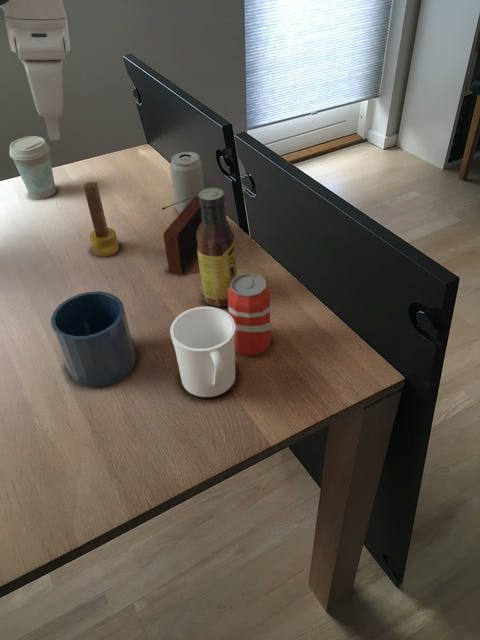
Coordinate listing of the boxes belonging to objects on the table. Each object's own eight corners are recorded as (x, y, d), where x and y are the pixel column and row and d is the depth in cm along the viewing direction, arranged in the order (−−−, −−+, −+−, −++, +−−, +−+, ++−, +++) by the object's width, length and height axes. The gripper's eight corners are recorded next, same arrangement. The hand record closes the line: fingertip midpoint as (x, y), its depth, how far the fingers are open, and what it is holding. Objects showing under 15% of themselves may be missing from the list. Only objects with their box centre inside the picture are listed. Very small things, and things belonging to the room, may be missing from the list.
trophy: (91, 257, 105) (73, 192, 95) (95, 242, 108) (79, 178, 99) (116, 256, 104) (101, 191, 95) (120, 241, 108) (106, 177, 99)
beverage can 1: (203, 200, 119) (199, 148, 111) (207, 215, 114) (202, 162, 106) (175, 203, 118) (168, 152, 110) (177, 219, 114) (170, 166, 106)
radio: (203, 226, 111) (196, 157, 101) (216, 228, 110) (211, 159, 100) (162, 278, 99) (150, 206, 89) (177, 281, 98) (166, 208, 88)
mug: (171, 367, 82) (162, 316, 75) (225, 350, 84) (222, 300, 77) (193, 420, 74) (186, 369, 67) (253, 400, 76) (251, 349, 70)
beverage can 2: (269, 329, 87) (269, 270, 79) (270, 358, 82) (270, 297, 74) (231, 330, 87) (227, 271, 79) (230, 358, 83) (226, 298, 75)
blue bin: (61, 388, 80) (42, 340, 73) (76, 340, 87) (60, 292, 80) (130, 386, 79) (117, 337, 73) (139, 338, 87) (128, 290, 80)
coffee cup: (26, 205, 120) (9, 154, 112) (21, 189, 126) (4, 140, 118) (64, 196, 123) (50, 146, 115) (58, 181, 129) (44, 132, 121)
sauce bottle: (240, 306, 92) (235, 203, 78) (204, 310, 91) (192, 207, 78) (236, 283, 97) (230, 182, 83) (201, 287, 96) (190, 186, 83)
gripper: (17, 29, 89) (32, 115, 97) (16, 48, 73) (34, 150, 81) (57, 29, 91) (68, 114, 99) (64, 48, 75) (77, 148, 83)
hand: (53, 130), depth 90 cm, fingers open, 8 cm apart
